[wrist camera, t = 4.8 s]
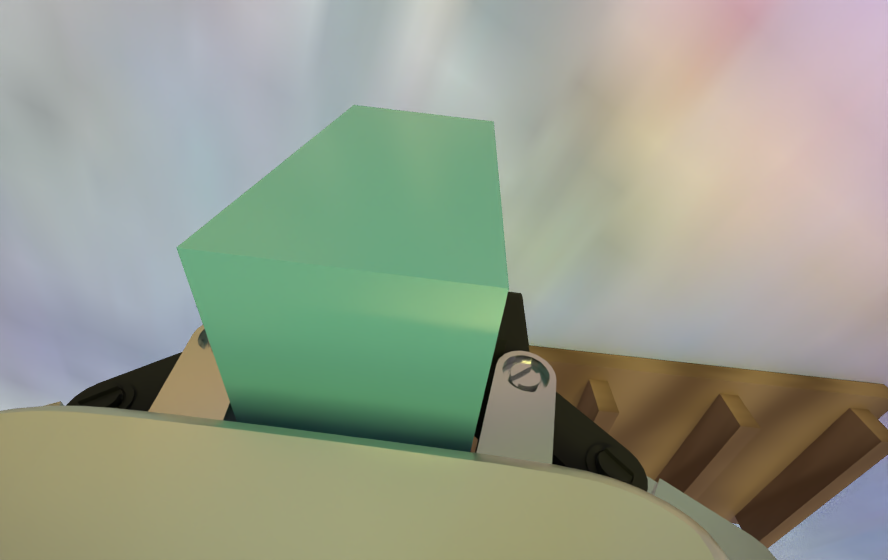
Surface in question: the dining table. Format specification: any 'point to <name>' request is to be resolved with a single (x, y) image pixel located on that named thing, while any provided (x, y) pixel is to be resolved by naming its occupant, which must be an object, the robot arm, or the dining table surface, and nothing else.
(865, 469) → the rack
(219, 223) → the block
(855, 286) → the dining table surface
